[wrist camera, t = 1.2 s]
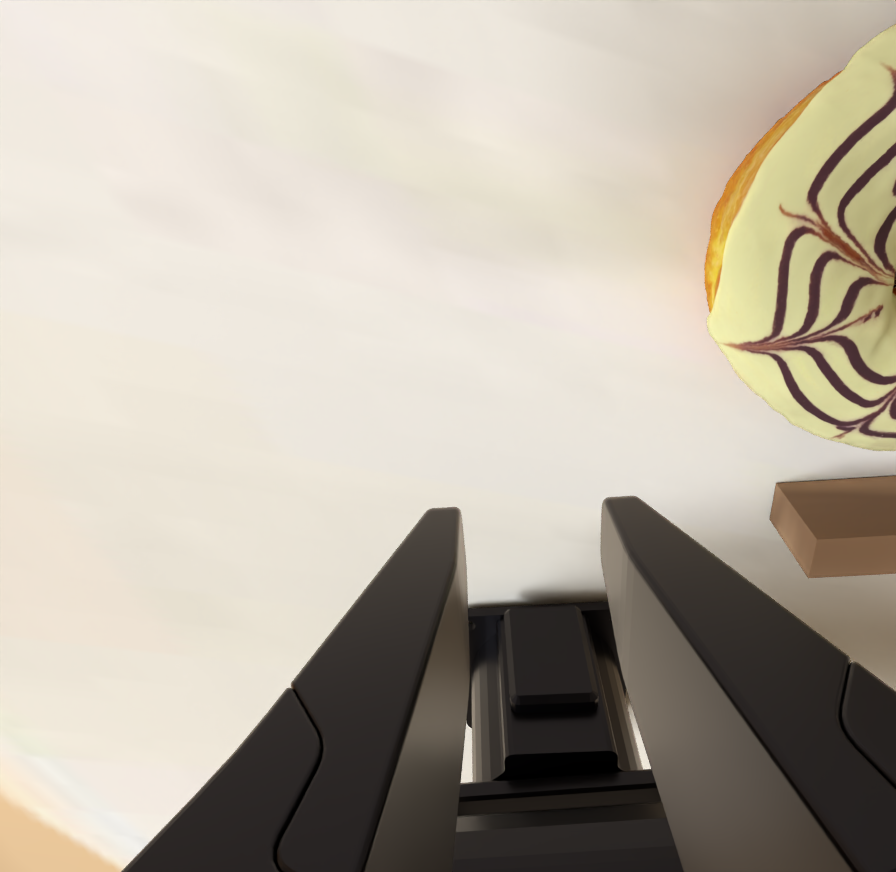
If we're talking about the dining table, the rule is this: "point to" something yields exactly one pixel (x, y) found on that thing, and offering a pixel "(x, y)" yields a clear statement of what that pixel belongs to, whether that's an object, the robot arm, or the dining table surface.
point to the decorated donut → (816, 258)
